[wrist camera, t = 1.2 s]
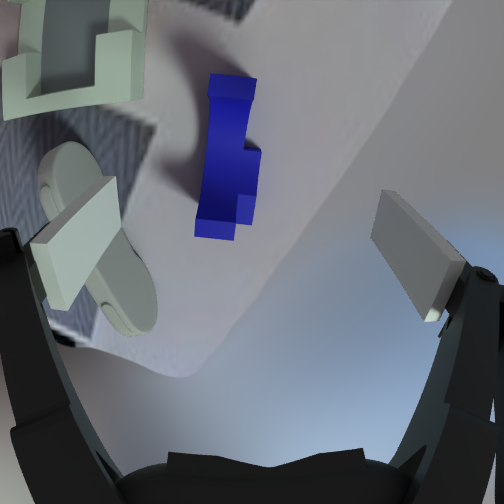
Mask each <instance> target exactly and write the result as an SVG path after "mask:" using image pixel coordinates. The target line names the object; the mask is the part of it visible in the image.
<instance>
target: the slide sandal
mask: <svg viewBox="0 0 504 504" xmlns="http://www.w3.org/2000/svg"><path fill="white" fill-rule="evenodd" d="M102 176H103V174H102V172H101V169H100V167H99V165H98V163H97V161H96V160H95V158H94V157H93V155H92V154H91V153H90V151H89V150H88V149H87V148H85V147H84V146H83V145H81V144H80V143H77V142H74V141H68V142H65V143H63V144H61V145H59V146H57V147H55V148H54V149H52V150H50V151H49V152H47V153H46V154H45V155H44V157H43V158H42V160H41V162H40V165H39V168H38V174H37V188H38V194H39V198H40V202H41V204H42V207H43V209H44V211H45V214H46V216H47V218H48V220H49V222H50V221H52V220H53V219H54V218H56V217H57V216H58V215H59V214H60V213H61V212H62V211H63V210H64V209H65V208H66V207H67V206H68V205H70V204H71V203H72V202H73V201H74V200H75V199H76V198H77V197H78V196H80V195H81V194H82V193H83V192H84V191H85V190H86V189H88V188H89V187H90V186H91V185H92V184H94V183H95V182H96V181H97V180H98V179H99V178H101V177H102ZM84 284H85V286H86V287H87V289H88V291H89V292H90V294H91V295H92V297H93V298H94V300H95V301H96V303H97V304H98V306H99V307H100V309H101V310H102V312H103V313H104V315H105V316H106V318H107V319H108V320H109V322H110V323H111V325H112V326H113V327H114V328H115V329H116V330H117V331H118V332H119V333H120V334H122V335H124V336H127V337H132V336H138V335H144V334H147V333H149V332H150V331H152V329H153V328H154V326H155V323H156V320H157V310H158V309H157V297H156V291H155V287H154V284H153V281H152V278H151V275H150V273H149V271H148V269H147V267H146V266H145V264H144V263H143V261H142V260H141V259H140V258H139V257H138V256H137V255H136V254H135V253H134V251H133V249H132V247H131V246H130V244H129V242H128V240H127V238H126V236H125V234H124V231H123V229H122V227H121V228H120V229H119V231H118V232H117V234H116V235H115V237H114V238H113V239H112V241H111V242H110V244H109V245H108V247H107V248H106V250H105V251H104V253H103V254H102V256H101V257H100V259H99V261H98V262H97V264H96V265H95V267H94V268H93V270H92V271H91V273H90V275H89V276H88V278H87V279H86V281H85V283H84Z"/></svg>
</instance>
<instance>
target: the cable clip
mask: <svg viewBox="0 0 504 504" xmlns="http://www.w3.org/2000/svg"><path fill="white" fill-rule="evenodd" d="M256 82H257V79H256V78H248V77H240V76H232V75H222V74H211V73H210V80H209V88H208V96H209V100H210V113H209V128H208V139H207V148H206V157H205V165H204V173H203V180H202V187H201V194H200V200H199V205H198V210H197V215H196V219H195V234H194V237H204V238H213V239H223V240H232V241H234V234H235V227H236V224H245V225H252V221H253V215H254V209H255V202H256V196H257V184H258V175H259V167H260V160H261V153H262V152H261V149H258V148H250V147H244V142H245V136H246V130H247V124H248V119H249V114H250V109H251V105H252V102H253V100H254V95H255V88H256Z"/></svg>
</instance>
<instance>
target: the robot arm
mask: <svg viewBox="0 0 504 504" xmlns="http://www.w3.org/2000/svg"><path fill="white" fill-rule="evenodd" d="M120 228H121V220H120V212H119V203H118V194H117V184H116V176H102V177H101V178H99V179H98V180H97V181H96V182H95V183H94V184H92V185H91V186H90V187H89V188H88V189H86V190H85V191H84V192H83V193H82V194H81V195H80V196H78V197H77V198H76V199H75V200H74V201H73V202H72V203H71V204H70V205H68V206H67V207H66V208H65V209H64V210H63V211H62V212H61V213H60V214H59V215H58V216H57V217H56V218H54V219H53V220H52V221H50V222H49V223H47V224H45V225H44V226H43V227H42V228H41V229H40V230H39V232H37V233H36V234H35V235H34V237H32V238H31V239H30V240H29V241H28V242H27V243H26V244H25V245H24V246H22V242H21V239H20V235H19V231H18V230H17V228H13V227H12V228H5V229H2V230H0V353H1V359H2V365H3V370H4V376H5V381H6V385H7V390H8V394H9V398H10V402H11V406H12V410H13V414H14V417H15V421H16V426H15V427H13V428H11V430H10V435H11V440H12V444H13V447H14V450H15V453H16V456H17V459H18V462H19V465H20V468H21V470H22V473H23V476H24V478H25V481H26V483H27V486H28V488H29V491H30V493H31V495H32V498H33V500H34V502H35V504H482V501H483V498H484V495H485V492H486V488H487V485H488V481H489V478H490V474H491V470H492V466H493V462H494V458H495V453H496V471H495V504H504V285H500V284H499V282H498V279H497V278H496V276H495V275H494V274H493V273H491V272H490V271H489V270H487V269H485V268H482V267H478V266H474V267H472V266H471V265H470V264H469V263H468V262H467V261H466V260H465V258H464V257H463V256H462V255H461V254H459V252H458V251H457V250H456V249H454V247H453V246H452V245H451V244H450V243H449V242H448V241H447V240H446V239H445V238H444V237H443V236H442V235H441V234H440V233H439V232H438V231H437V230H436V229H435V228H434V227H433V226H432V225H431V224H430V223H429V222H428V221H427V220H426V219H424V218H423V217H422V216H421V215H420V214H419V213H418V212H417V211H416V210H415V209H414V208H413V207H412V206H411V205H410V204H408V203H407V202H406V201H405V200H404V199H403V198H402V197H401V196H400V195H399V194H397V193H396V192H395V191H390V190H382V191H381V196H380V200H379V204H378V209H377V213H376V217H375V222H374V226H373V229H372V233H371V239H372V241H373V242H374V243H375V245H376V246H377V247H378V249H379V251H380V252H381V254H382V255H383V257H384V258H385V260H386V261H387V263H388V264H389V266H390V267H391V269H392V271H393V272H394V274H395V275H396V277H397V278H398V280H399V281H400V283H401V284H402V286H403V288H404V289H405V291H406V293H407V294H408V296H409V297H410V299H411V301H412V303H413V304H414V306H415V307H416V309H417V311H418V313H419V314H420V316H421V318H422V319H423V321H424V322H429V321H439V319H440V317H441V316H442V313H443V311H444V310H445V309H446V310H447V311H448V313H449V317H448V319H447V320H446V322H445V324H444V326H443V328H442V330H441V332H440V334H439V335H438V337H439V338H440V337H441V340H440V343H439V346H438V350H437V353H436V356H435V359H434V362H433V365H432V368H431V371H430V374H429V376H428V379H427V382H426V385H425V387H424V390H423V393H422V395H421V398H420V400H419V403H418V405H417V407H416V410H415V412H414V415H413V417H412V419H411V422H410V424H409V426H408V428H407V431H406V433H405V435H404V437H403V439H402V441H401V443H400V445H399V447H398V449H397V451H396V453H395V455H394V457H393V458H392V460H391V461H390V462H389V464H386V463H383V462H380V461H375V460H370V459H365V455H364V451H363V448H358V449H352V450H345V451H337V452H327V453H319V454H316V455H312V456H309V457H306V458H303V459H300V460H297V461H294V462H290V463H286V464H283V465H279V466H276V467H262V466H258V465H253V464H248V463H244V462H240V461H235V460H232V459H227V458H224V457H220V456H211V455H197V454H185V453H175V452H168V460H167V463H162V464H157V465H151V466H147V467H144V468H142V469H138V470H136V471H134V472H132V473H130V474H128V475H126V476H123V475H122V473H121V472H120V471H119V469H118V468H117V466H116V465H115V463H114V462H113V461H112V459H111V458H110V456H109V454H108V453H107V451H106V449H105V448H104V446H103V444H102V442H101V441H100V439H99V437H98V435H97V433H96V432H95V430H94V428H93V426H92V424H91V422H90V420H89V418H88V416H87V414H86V412H85V410H84V408H83V406H82V404H81V402H80V400H79V398H78V396H77V393H76V391H75V389H74V387H73V385H72V382H71V380H70V378H69V376H68V373H67V371H66V368H65V366H64V363H63V361H62V358H61V356H60V353H59V351H58V348H57V345H56V342H55V340H54V337H53V334H52V331H51V328H50V325H49V322H48V319H47V316H46V313H45V310H44V307H43V305H42V302H43V300H44V299H45V297H46V296H47V299H48V302H49V304H50V307H51V309H57V310H64V311H68V310H69V308H70V306H71V304H72V303H73V301H74V299H75V298H76V296H77V294H78V293H79V291H80V289H81V288H82V286H83V284H84V283H85V281H86V279H87V278H88V276H89V275H90V273H91V271H92V270H93V268H94V267H95V265H96V264H97V262H98V261H99V259H100V257H101V256H102V254H103V253H104V251H105V250H106V248H107V247H108V245H109V244H110V242H111V241H112V239H113V238H114V237H115V235H116V234H117V232H118V231H119V229H120ZM493 398H494V411H495V423H493V422H491V421H490V415H491V409H492V403H493Z"/></svg>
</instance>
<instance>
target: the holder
mask: <svg viewBox="0 0 504 504" xmlns="http://www.w3.org/2000/svg"><path fill="white" fill-rule="evenodd" d="M7 2H10V3H17V4H22V9H21V18H20V29H19V43H18V55H17V56H14V57H12V58H9V59H6V60H3V61H2V99H3V117H4V121H6V120H10V119H14V118H19V117H23V116H28V115H33V114H38V113H43V112H49V111H54V110H60V109H67V108H73V107H81V106H88V105H97V104H106V103H116V102H128V101H133V100H137V99H141V98H143V94H144V55H145V36H146V21H147V9H148V0H7Z"/></svg>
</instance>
